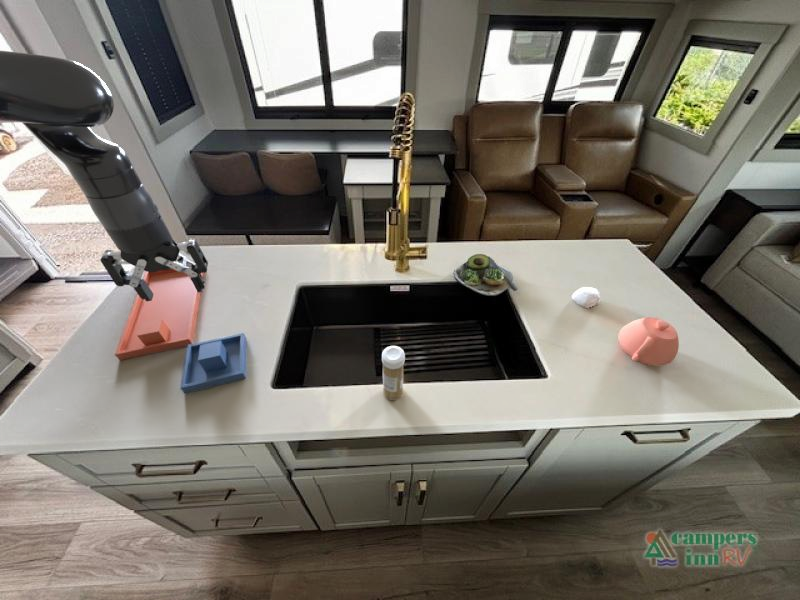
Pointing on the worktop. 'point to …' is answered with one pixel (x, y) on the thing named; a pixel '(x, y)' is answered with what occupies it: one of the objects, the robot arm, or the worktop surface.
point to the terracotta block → (153, 332)
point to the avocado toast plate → (484, 276)
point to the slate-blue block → (212, 356)
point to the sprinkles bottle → (393, 372)
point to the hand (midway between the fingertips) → (176, 293)
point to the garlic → (586, 297)
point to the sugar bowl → (649, 341)
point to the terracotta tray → (162, 313)
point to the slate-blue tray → (234, 371)
